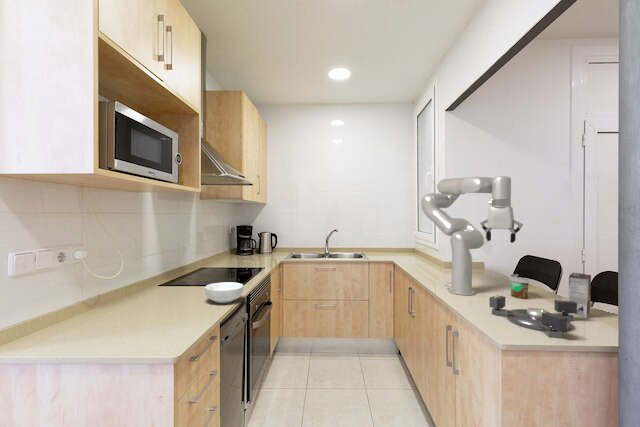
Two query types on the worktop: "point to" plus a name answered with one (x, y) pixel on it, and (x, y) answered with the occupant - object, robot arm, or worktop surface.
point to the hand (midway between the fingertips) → (500, 241)
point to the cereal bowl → (224, 291)
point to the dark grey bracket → (497, 301)
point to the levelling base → (532, 322)
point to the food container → (519, 286)
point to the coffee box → (580, 293)
